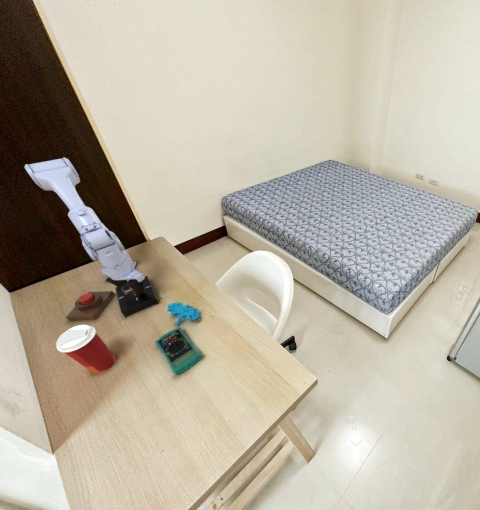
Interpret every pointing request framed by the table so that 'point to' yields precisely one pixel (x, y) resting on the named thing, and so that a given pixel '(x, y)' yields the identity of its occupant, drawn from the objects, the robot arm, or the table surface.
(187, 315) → the blue toy tree
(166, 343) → the digital multimeter
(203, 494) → the table surface
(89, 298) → the button
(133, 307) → the dial panel
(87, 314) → the button block
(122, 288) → the dial
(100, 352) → the paper cup
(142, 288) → the robot arm
